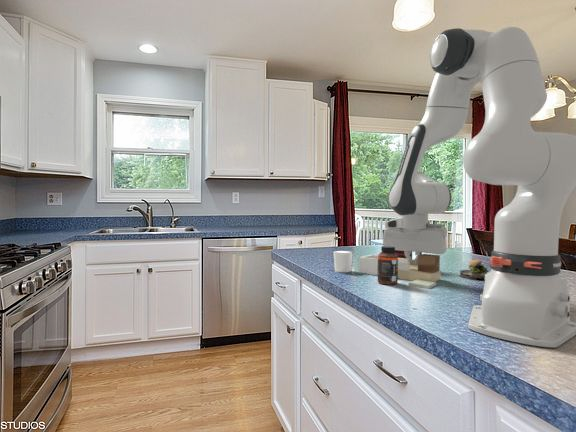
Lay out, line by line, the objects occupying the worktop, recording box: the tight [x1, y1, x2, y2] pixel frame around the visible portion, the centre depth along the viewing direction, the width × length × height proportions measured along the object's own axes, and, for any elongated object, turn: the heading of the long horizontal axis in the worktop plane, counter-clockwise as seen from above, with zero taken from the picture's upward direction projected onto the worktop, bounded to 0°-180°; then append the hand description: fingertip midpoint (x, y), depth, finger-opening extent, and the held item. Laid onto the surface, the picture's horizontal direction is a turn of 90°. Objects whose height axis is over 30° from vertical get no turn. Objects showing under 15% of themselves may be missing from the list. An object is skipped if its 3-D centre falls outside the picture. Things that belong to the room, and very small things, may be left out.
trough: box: [358, 254, 442, 283], centre depth 119 cm, size 9×25×6 cm, turn 47°
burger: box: [459, 255, 490, 281], centre depth 117 cm, size 12×12×8 cm
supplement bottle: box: [377, 245, 399, 286], centre depth 107 cm, size 6×6×11 cm
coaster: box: [407, 280, 437, 289], centre depth 105 cm, size 6×6×1 cm
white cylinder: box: [332, 250, 353, 273], centre depth 127 cm, size 7×7×7 cm
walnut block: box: [418, 253, 441, 273], centre depth 112 cm, size 5×5×5 cm
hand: (412, 265), depth 115 cm, fingers closed
